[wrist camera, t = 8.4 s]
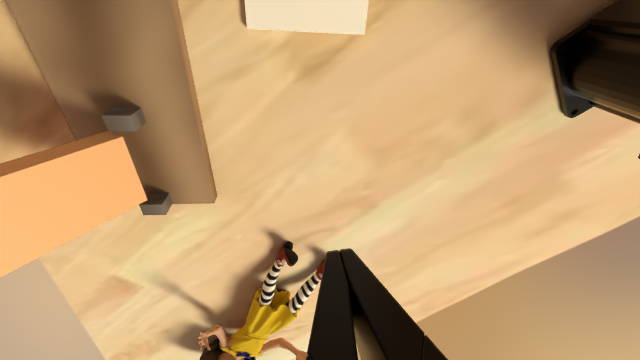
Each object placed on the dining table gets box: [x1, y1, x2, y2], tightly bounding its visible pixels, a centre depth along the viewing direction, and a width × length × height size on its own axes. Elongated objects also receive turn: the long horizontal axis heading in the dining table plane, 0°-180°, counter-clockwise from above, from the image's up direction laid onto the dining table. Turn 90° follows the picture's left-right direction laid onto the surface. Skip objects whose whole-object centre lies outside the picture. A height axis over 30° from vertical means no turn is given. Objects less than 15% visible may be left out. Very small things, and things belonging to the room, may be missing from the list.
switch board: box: [6, 0, 217, 215], centre depth 15 cm, size 8×24×2 cm, turn 177°
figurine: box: [198, 242, 325, 360], centre depth 31 cm, size 13×8×25 cm
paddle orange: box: [0, 131, 147, 277], centre depth 15 cm, size 2×5×11 cm
